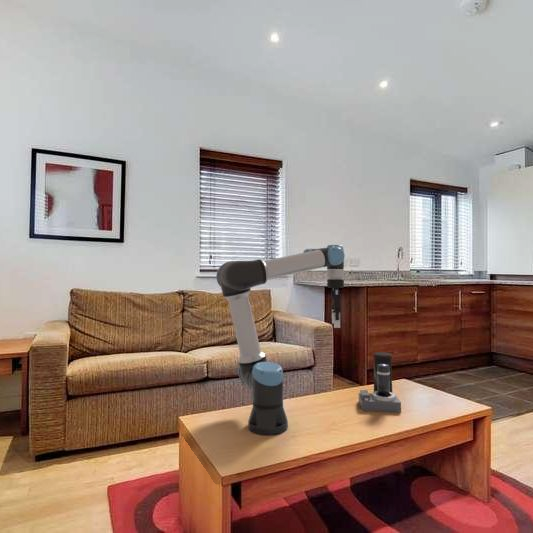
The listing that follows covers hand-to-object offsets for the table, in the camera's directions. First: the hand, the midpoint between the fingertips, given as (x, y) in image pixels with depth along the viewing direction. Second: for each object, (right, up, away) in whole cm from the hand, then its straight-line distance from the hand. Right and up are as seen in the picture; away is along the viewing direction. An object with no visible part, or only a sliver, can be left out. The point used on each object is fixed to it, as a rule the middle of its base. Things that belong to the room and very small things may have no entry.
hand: (335, 325), depth 170 cm
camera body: (+18, -35, -7) cm, 39 cm away
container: (+25, -35, +10) cm, 44 cm away
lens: (+20, -31, -7) cm, 37 cm away
